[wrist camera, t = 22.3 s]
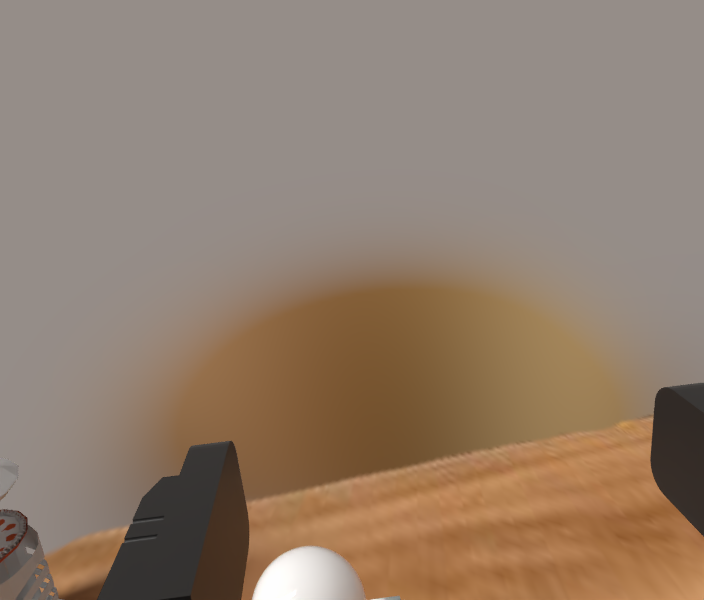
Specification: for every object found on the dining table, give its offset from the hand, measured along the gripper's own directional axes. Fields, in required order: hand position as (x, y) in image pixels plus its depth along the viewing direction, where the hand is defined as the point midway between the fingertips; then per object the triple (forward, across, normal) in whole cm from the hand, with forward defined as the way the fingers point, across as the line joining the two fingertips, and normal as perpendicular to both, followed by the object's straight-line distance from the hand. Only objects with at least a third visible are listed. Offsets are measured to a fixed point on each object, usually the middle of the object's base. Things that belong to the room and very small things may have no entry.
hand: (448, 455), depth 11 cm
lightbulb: (+15, +5, +27) cm, 32 cm away
